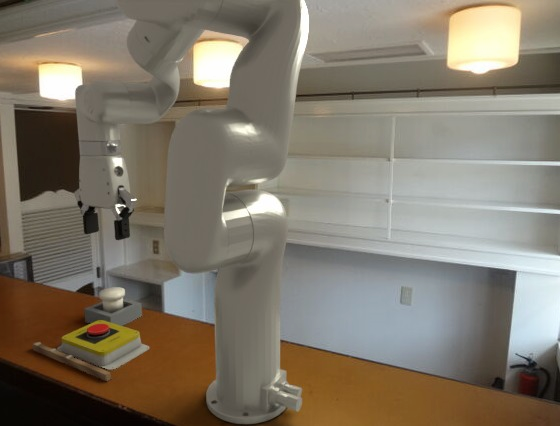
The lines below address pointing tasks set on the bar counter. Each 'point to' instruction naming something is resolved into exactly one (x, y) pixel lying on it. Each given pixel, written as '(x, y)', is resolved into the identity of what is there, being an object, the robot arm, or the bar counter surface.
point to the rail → (72, 361)
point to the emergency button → (103, 344)
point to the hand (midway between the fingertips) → (106, 235)
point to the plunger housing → (114, 313)
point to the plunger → (112, 299)
